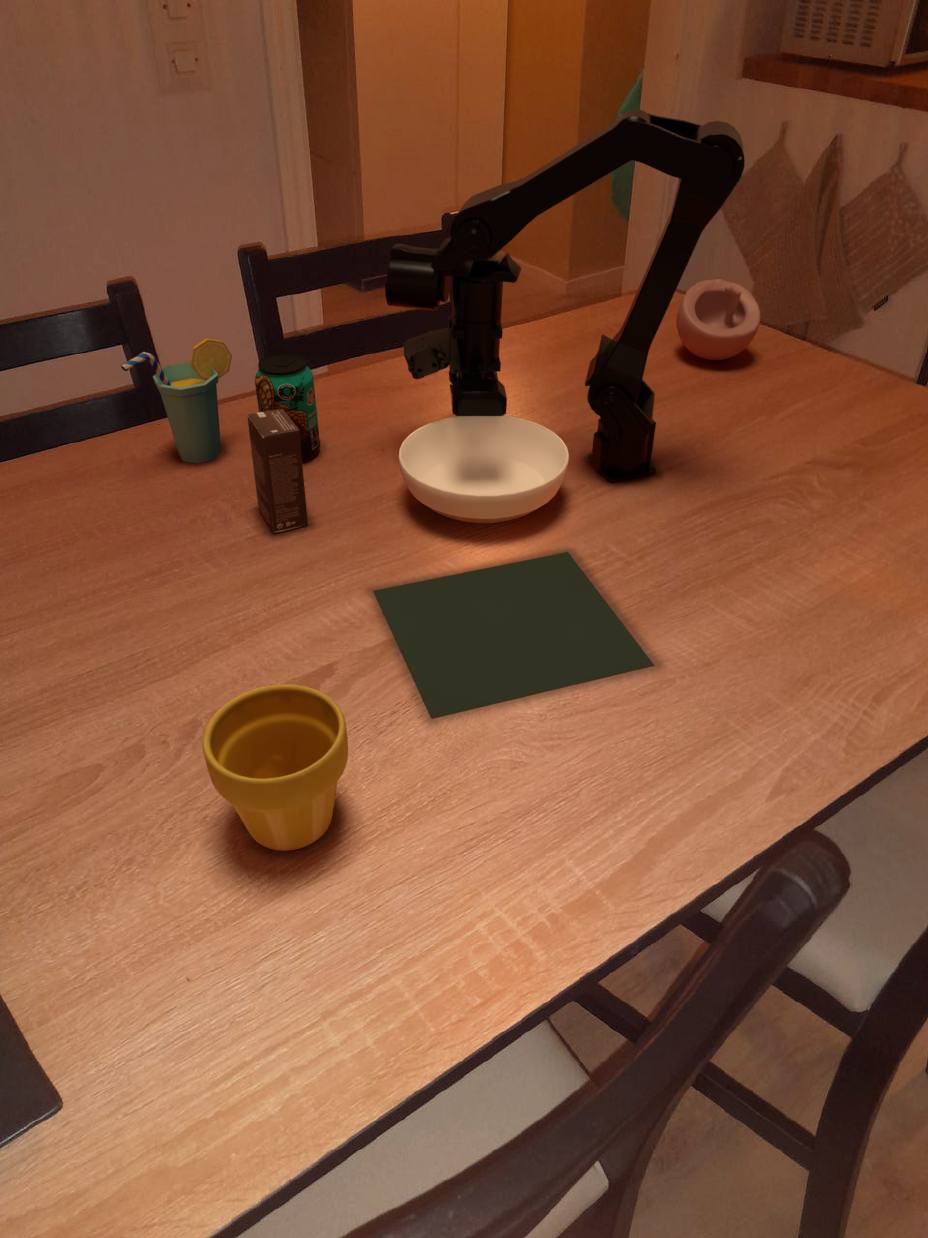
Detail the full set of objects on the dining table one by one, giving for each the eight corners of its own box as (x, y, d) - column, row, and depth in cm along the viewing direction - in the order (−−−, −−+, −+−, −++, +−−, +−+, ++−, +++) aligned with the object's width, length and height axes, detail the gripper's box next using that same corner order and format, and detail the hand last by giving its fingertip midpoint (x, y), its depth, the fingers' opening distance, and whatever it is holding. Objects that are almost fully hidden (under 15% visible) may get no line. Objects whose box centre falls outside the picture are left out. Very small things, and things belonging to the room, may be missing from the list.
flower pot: (229, 773, 80) (210, 685, 74) (355, 765, 81) (346, 677, 75) (215, 876, 72) (192, 787, 66) (354, 866, 73) (344, 777, 67)
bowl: (451, 562, 104) (450, 513, 100) (372, 482, 117) (369, 436, 113) (598, 514, 112) (603, 467, 108) (509, 444, 125) (511, 400, 121)
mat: (567, 552, 106) (567, 551, 106) (654, 666, 91) (654, 665, 91) (373, 591, 100) (372, 590, 100) (431, 719, 85) (431, 718, 85)
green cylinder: (254, 459, 122) (241, 369, 114) (282, 434, 127) (271, 347, 119) (303, 469, 120) (293, 378, 112) (330, 444, 125) (322, 356, 117)
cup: (166, 487, 116) (140, 369, 107) (129, 466, 120) (101, 351, 111) (257, 445, 124) (240, 332, 115) (219, 427, 128) (200, 316, 119)
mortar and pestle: (689, 376, 141) (701, 298, 134) (659, 344, 151) (669, 270, 143) (765, 369, 143) (781, 292, 136) (731, 338, 152) (745, 265, 145)
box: (311, 525, 110) (300, 429, 102) (272, 534, 108) (259, 437, 101) (294, 500, 114) (283, 406, 107) (257, 508, 112) (243, 414, 105)
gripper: (406, 282, 119) (407, 398, 129) (408, 347, 104) (409, 472, 114) (496, 283, 119) (490, 398, 129) (510, 347, 105) (503, 471, 115)
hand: (472, 433), depth 122 cm, fingers closed
